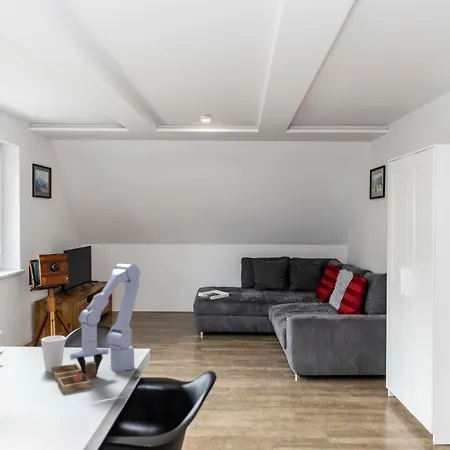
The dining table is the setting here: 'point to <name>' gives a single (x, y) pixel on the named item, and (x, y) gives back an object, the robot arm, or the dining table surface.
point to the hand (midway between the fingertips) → (89, 374)
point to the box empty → (65, 371)
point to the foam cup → (53, 351)
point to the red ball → (78, 379)
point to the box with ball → (73, 384)
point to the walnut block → (90, 369)
